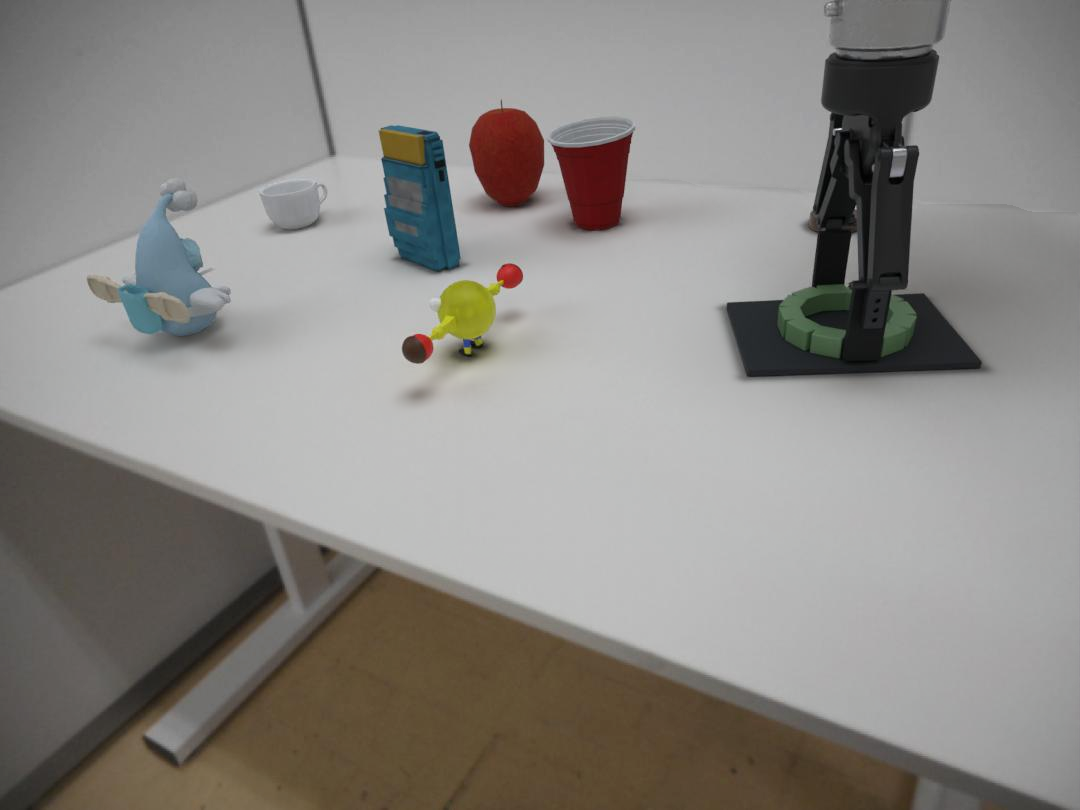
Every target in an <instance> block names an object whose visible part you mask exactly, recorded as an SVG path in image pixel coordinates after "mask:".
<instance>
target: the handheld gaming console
mask: <svg viewBox="0 0 1080 810" xmlns="http://www.w3.org/2000/svg"><path fill="white" fill-rule="evenodd" d="M378 135H379V141H380V145H381V150H382V155H383V156H382V157H381V159H380V161H381V166H382V170H383V174H384V177H383V183H384V188H385V194H383V196H384V197H383V198H384V202H385V207H384V208H383V211H384V215H385V221H386V226H387V230H388V235H389V237H391V238H392V242H393V246H394V248H397V253H398V255H399V256H400V259H402V260H405V261H407V262H410V263H413V264H415V265H419V266H421V267H423V268H426V269H429V270H431V271H435V272H437V273H438V272H441V271H443V270H448V271H451V270H453V269H456V268H459V267H460V260H462V258H461V257H462V256H461V251H460V244H459V237H458V232H457V225H456V218H455V212H454V211H455V210H454V205H453V199H452V191H451V186H450V180H449V173H448V168H447V161H446V155H445V148H444V141H443V139H441V136H440V134H439V133H438V131H433V130H427V129H422V128H416V127H411V126H404V125H399V124H398V125H397V124H396V125H394V124H393V125H392V124H391V125H388V126H383V127H380V129H379V130H378Z"/></svg>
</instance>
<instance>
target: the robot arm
mask: <svg viewBox="0 0 1080 810" xmlns="http://www.w3.org/2000/svg"><path fill="white" fill-rule="evenodd" d="M951 3H952V0H831V1H827V2H826V3H824V5H823V15H824V16H825V17H827V18H830V21H829V31H828V32H829V33H828V41H827V42H828V45H829V46H830V47H832V48H833V49H835V51H834V52H832V53H830V54H829V55H828V57H827V58H826V59H825V61H824V69H823V80H822V88H821V96H820V97H821V98H820V102H821V106H822V108H824V109H825V111H828V112H830V114H829V127H828V136H827V141H826V146H825V151H824V154H823V155H824V156H823V160H822V165H821V168H820V173H819V178H818V183H817V187H816V191H815V192H816V193H815V196H814V201H813V205H812V211H813V212H814V215H818V217H817V225H818V228H822V231H818V232H817V236H816V244H815V252H814V253H815V254H814V260H813V261H814V263H813V271H812V279H811V287H815V288H817V286H818V285H838V284H844V285H845V282H846V275H847V269H848V261H849V254H850V248H851V247H850V246H851V238H852V234H853V232H851V231H850V230H849V229H848V230H842V227H853V226H856V225H857V231H856V237H857V239H856V240H857V242H856V243H857V271H858V272H857V273H858V274H857V275H858V278H857V279H858V280H852V281H850V282H848V286H849V289H850V290H852V293H851V300H850V307H849V314H848V320H847V327H846V334H845V341H844V347H843V354H842V358H843V360H844V361H871V360H880V355H881V349H882V344H883V338H884V333H885V327H886V322H887V316H888V310H889V305H890V299H891V294H893V291H904V290H907V288H908V285H909V271H910V269H909V268H910V253H911V238H912V237H911V234H912V220H913V219H912V218H913V205H914V204H913V201H914V185H915V179H916V178H915V177H916V172H917V167H918V162H919V157H920V149H919V146H918V145H917V144H915V145H914V144H912V145H905V138H904V136H903V121H904V118H905V117H906V116H908V115H909V114H911V113H916V112H920V111H922V110H924V109H925V108H927V107H928V106H929V105H930V103H931V102H932V99H933V94H934V90H935V89H934V88H935V85H936V84H935V83H936V77H937V72H938V67H939V61H940V54H938V52H937V51H936V50H935V49H933V48H934V46H935V45H938V44H939V43H940V42H941V41H942V40H943V39H944V38H945V36H946V30H947V24H948V19H949V14H950V13H949V12H950V7H951ZM854 209H856V210H857V224H854V223H856V219H855V217H854V216H855V214H853V212H854Z"/></svg>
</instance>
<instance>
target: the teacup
mask: <svg viewBox="0 0 1080 810" xmlns="http://www.w3.org/2000/svg"><path fill="white" fill-rule="evenodd" d="M319 187H321V188H322V190H323V195H322V197H321V198H320V195H319ZM258 193H259V197H260V199H261V203H262V205H263V208H264V210H265V213H266V215H267V217H268V218H269V220H270V221H271V222H272V223H273V224H274V225H275V226H277V227H279V228H281V229H283V230H299V229H303V228H306V227H309V226H311V225H312V224H314V223H315V221H316V220H317V219H318V217H319V215H320V211H321V205H322V203H323V202H324V201H325V200H326V198H327V197H328V188H327V187H326V185H325V183H323V182H322V183H321V182H317V181H316V180H315V179H313V178H292V179H286V180H280V181H277V182H274V183H271V184H268V185H265V186H264V187H262V188H260V189H259V191H258Z"/></svg>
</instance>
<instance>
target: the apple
mask: <svg viewBox="0 0 1080 810" xmlns="http://www.w3.org/2000/svg"><path fill="white" fill-rule="evenodd" d="M468 147H469V152H470V155H471V159H472V165H473V170H474V174H475V175H476V177H477V179H478V181H479V183H480V185H481V187H482V188H483V191H484V192H485V194H486V195H487V196H488V197H489V198H491V199H492V200H493V201H494V202H496V203H497V204H498V205H500V206H503V207H509V208H512V207H518V206H521V205H523V204H525V202H526V201H527V200H528V199H529V198H531V196H533V194H534V193H536V191H537V189H538V187H539V184H540V181H541V178H542V174H543V171H544V168H545V139H544V137H543V135H542V132H541V130H540V128H539V126H538V123H537V121H536V120H535V119H533V118H532V117H531V116H530V114H529V113H527V112H526V111H525V110H521V109H519V108H512V107H503V99H502V98H501V99H500V108H495V109H490V110H488V111H486V112H484V113H483V114H481V115H480V116H479V117H478V118H477V120H476V121H475V123H474V124H473V126H472V127H471V132H470V138H469V142H468Z"/></svg>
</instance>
